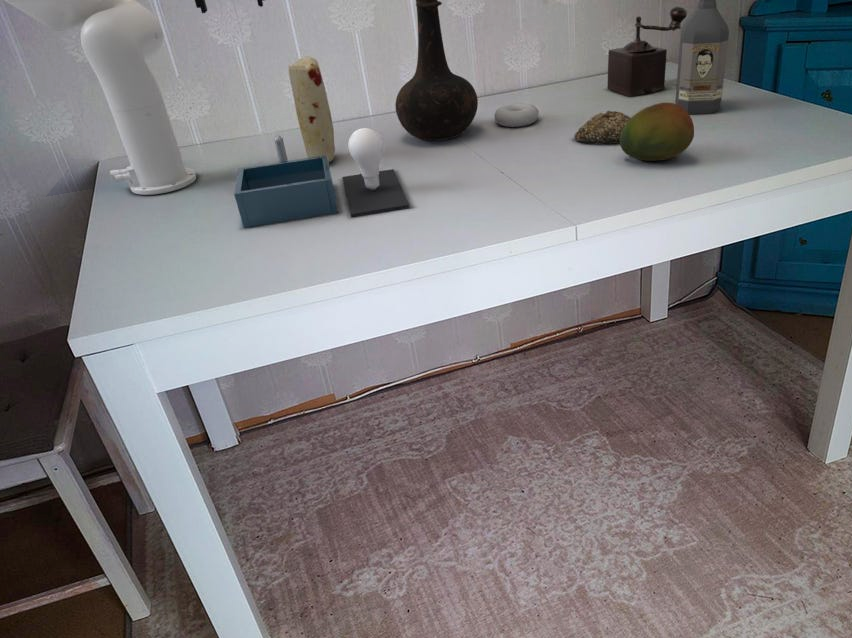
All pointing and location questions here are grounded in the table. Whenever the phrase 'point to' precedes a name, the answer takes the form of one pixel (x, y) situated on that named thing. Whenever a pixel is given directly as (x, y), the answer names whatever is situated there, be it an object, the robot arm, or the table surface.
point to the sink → (285, 189)
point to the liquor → (702, 60)
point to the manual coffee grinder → (641, 61)
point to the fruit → (657, 132)
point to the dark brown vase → (434, 86)
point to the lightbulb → (367, 154)
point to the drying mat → (374, 194)
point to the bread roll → (603, 128)
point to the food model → (312, 108)
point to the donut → (516, 114)
